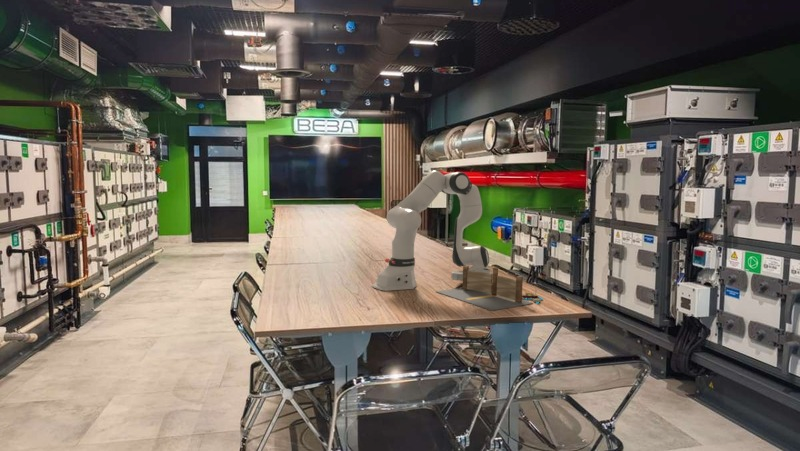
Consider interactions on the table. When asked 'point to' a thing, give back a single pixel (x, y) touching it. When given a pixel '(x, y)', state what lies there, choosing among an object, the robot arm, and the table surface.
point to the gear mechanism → (532, 297)
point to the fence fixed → (507, 286)
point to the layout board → (482, 299)
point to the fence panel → (477, 280)
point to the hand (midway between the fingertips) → (468, 279)
